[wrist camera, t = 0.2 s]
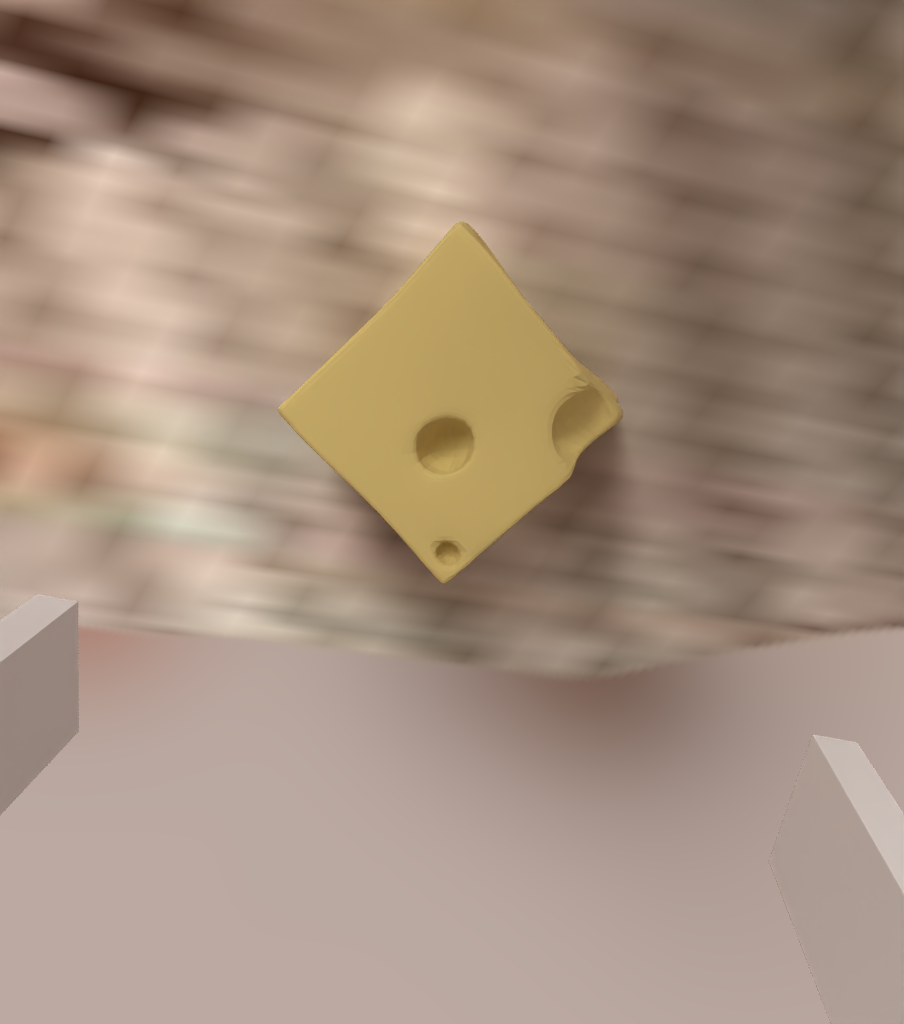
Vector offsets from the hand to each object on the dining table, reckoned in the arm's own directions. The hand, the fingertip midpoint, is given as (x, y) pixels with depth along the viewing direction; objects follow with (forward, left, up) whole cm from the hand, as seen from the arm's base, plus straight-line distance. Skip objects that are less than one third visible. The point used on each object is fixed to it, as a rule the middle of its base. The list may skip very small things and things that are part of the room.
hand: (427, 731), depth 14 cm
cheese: (-2, -1, -28) cm, 28 cm away
